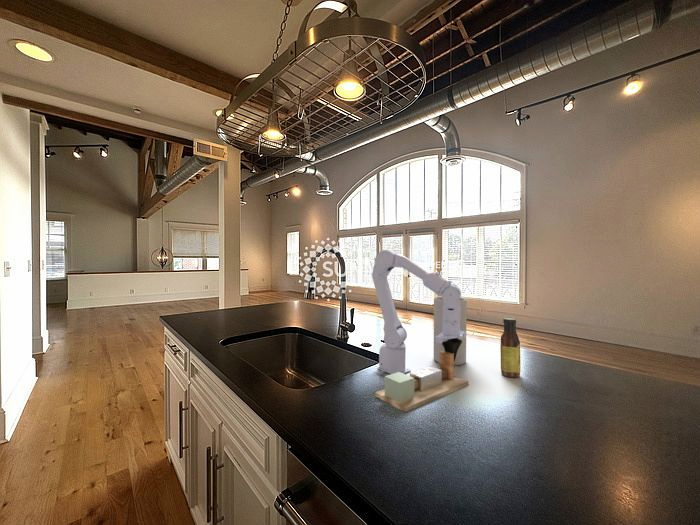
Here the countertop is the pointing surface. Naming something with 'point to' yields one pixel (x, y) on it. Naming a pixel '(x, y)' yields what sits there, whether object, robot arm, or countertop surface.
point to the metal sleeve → (428, 378)
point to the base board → (425, 394)
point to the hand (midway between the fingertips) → (451, 360)
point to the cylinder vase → (438, 330)
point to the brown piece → (442, 367)
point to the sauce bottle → (510, 349)
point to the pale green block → (399, 386)
